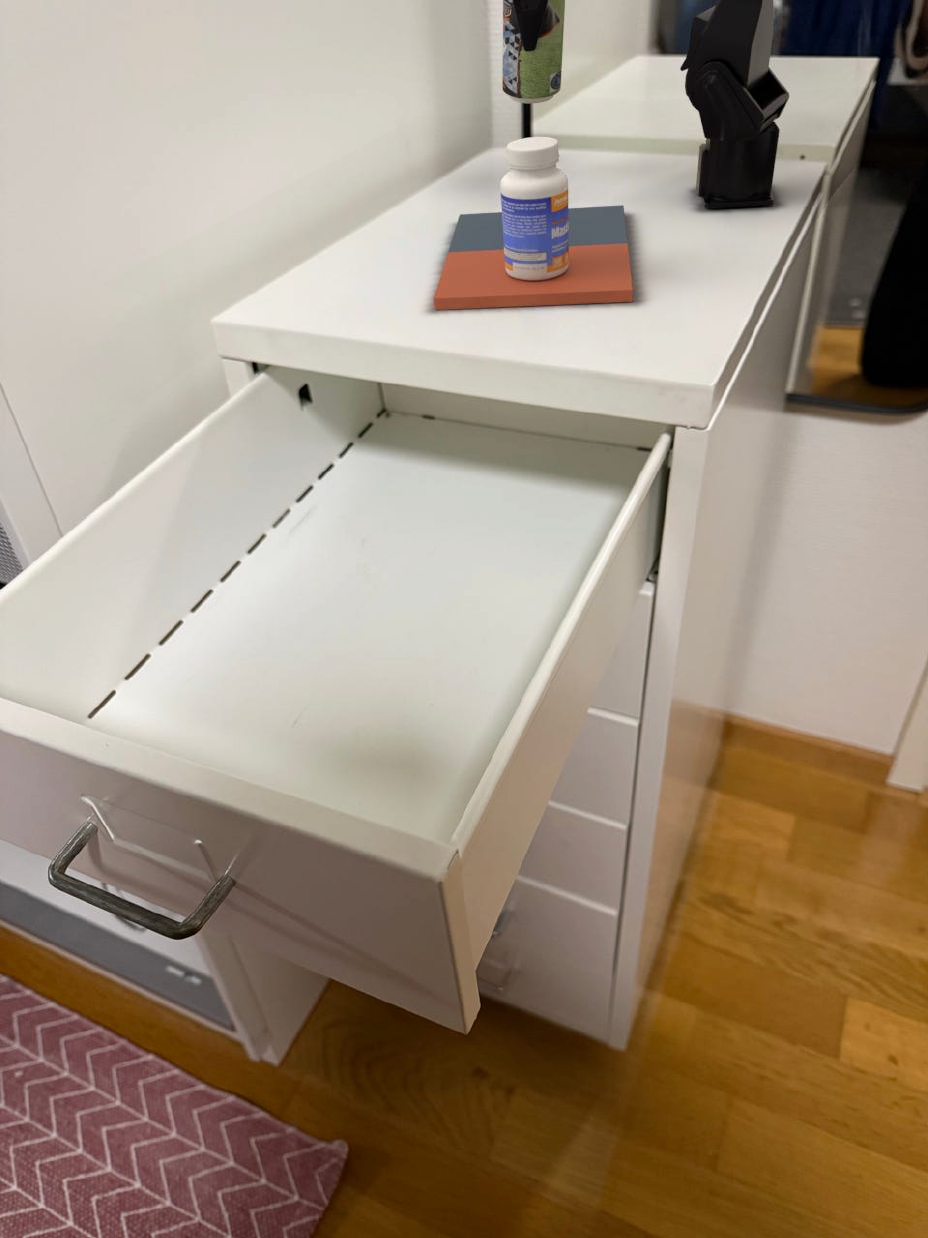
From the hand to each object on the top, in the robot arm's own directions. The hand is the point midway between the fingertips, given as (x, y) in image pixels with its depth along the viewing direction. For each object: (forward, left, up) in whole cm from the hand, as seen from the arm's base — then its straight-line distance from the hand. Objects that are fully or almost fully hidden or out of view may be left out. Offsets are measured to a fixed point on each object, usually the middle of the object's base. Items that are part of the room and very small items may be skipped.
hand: (531, 45), depth 88 cm
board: (-1, +23, -13) cm, 26 cm away
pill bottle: (-1, +29, -12) cm, 31 cm away
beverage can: (0, -1, -5) cm, 5 cm away
